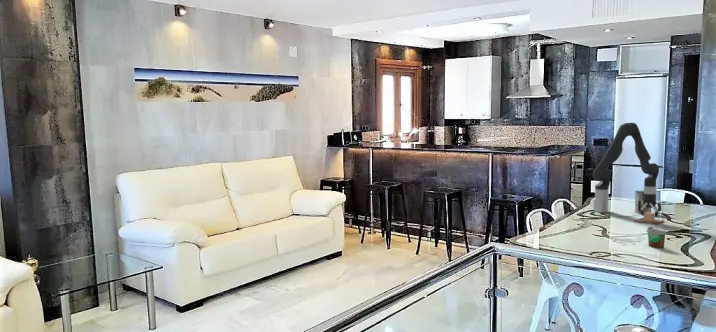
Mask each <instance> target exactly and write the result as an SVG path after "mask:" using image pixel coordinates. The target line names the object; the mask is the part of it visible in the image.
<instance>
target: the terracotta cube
mask: <svg viewBox="0 0 716 332" xmlns="http://www.w3.org/2000/svg"><path fill="white" fill-rule="evenodd" d="M643 218H644V221H651V222H652V221H654V220H655V218H656V217H655V212H651V213H649V212H646V213H644V216H643Z"/></svg>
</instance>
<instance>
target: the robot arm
mask: <svg viewBox="0 0 716 332" xmlns="http://www.w3.org/2000/svg"><path fill="white" fill-rule="evenodd" d="M630 136H631V137H632V140H634V152H635V155H636V156H637V158H638V160H639V163H640V164H639V165H640V168H641V171H642V173H644V174H645V175H647V177H645V178H644V186H643V191H644V200H643V201H642V200H639V202H638V209H640V210H641V214H640V215H641V216H642V217H644V209H645V208H646V207H647V208H651V209H653V210H654V213H655V218H658V217H659V212H661V211H662V202H661V201H659V202H658V201H657V179H658V176H659V173H660V172H659V171H660V167H659V165H658V164H657V163H655V162H652V163H650V160H651V158H652V157H651V155H650V154H649V152H648V150H647V148H646V145H645V144H644V140H643V138H642V135H641V131H640V128H639V126H638V125H637V123H635V122H624V123H621V125H619V127H618V129H617V131H616V134H615V136H614V138H613V140H612V142H611V144H610V145H609V147H608V148H607V150H606V152H605V153H604V155H603V157H602V159H601V160H600V162H599V163H598V164H597V165H596V167H595V168H594V170H593V171H592V177H593V180H596V181H599V182H598V183H596V184H595V185H594V186H595V187H594V198H593V212H596V213H608V212H609V196H610V195H609V191H610V190H609V189H610V188H609V187H610V186H611V185H610V184H611V170H610V169H609V166H611V165H612V164H614V163H615V162H616V161H618V159H620V156H621V155H622V153H623V143H624V141H625V139H626V138H627V137H630ZM642 203H644V206H643V207H642V208H641V206H642Z"/></svg>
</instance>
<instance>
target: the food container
mask: <svg viewBox="0 0 716 332" xmlns="http://www.w3.org/2000/svg"><path fill="white" fill-rule="evenodd" d="M646 233H647V240H648V242H647V243H648V247H651V248H653V249H654V248H655V249H664V248H665V241H666V240H665V238H666V235H667V232H666V230H660V229H657V228H654V227H653V226H648V227H647V228H646Z"/></svg>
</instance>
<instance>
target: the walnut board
mask: <svg viewBox="0 0 716 332" xmlns="http://www.w3.org/2000/svg"><path fill="white" fill-rule="evenodd" d="M634 222H635V223H640V224H647V225H648V224H649V225H653V226H654V225H655V226H657V225H660V224H663V223H665V220H663V219H655V220H654V221H652V222H651V221H644V217H641V218H638V219H635V220H634Z"/></svg>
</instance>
